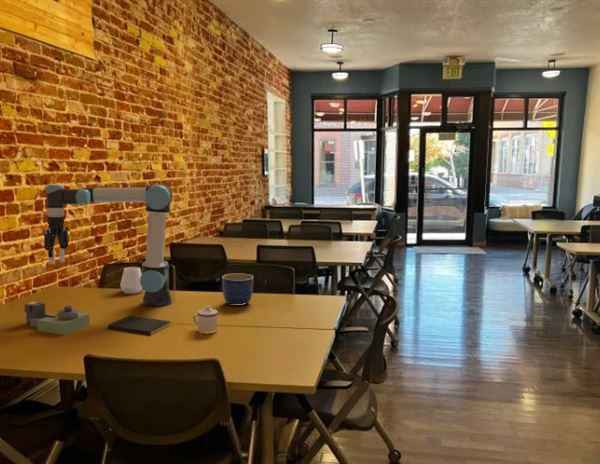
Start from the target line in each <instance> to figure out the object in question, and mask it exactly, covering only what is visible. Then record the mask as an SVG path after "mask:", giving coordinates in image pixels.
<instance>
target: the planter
mask: <svg viewBox="0 0 600 464" xmlns="http://www.w3.org/2000/svg"><path fill="white" fill-rule="evenodd" d="M221 279H222V280H221V281H222V294H223V295H222V296H223V299H224V301H225V302H226V303H227V304H228V303H229V304H243V303H247V302H248V303H250V301H251V300H252V297H253V290H254V289H253V288H254V275H252V274H248V273H247V274H246V273H228V274H224V275H222V277H221ZM248 303H247V304H248ZM229 304H228V305H229Z"/></svg>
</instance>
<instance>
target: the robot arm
mask: <svg viewBox="0 0 600 464" xmlns="http://www.w3.org/2000/svg"><path fill="white" fill-rule="evenodd" d="M45 188H46V193H45V197H46V216H47V217H46V221H47V223H46V224H47V225H48V227H47V229H44V230H43V231H42V232H43V234H44V236H43V237H44V238H43V239H44V240H43V241H44V242H43V243H44V244H43V245H44V247H43V248H44V250H45V251H48V252H47V253H48V255H47V256H48V262H49V265H55V264H56V254H55V253H56V252H55V250H54V248H55V241H56V238H57V240H58V244H59V249H58V257H59V258H58V259H59V261H58V262H63V263H64V262H66V256H65V255H66V249H67V248H68V247H69V235H68V234H69V227H68V226H64V225H65V216H64V215H65V205H78V206H79V205H80V206H82V205H83V206H84V205H89V204H90V203H145V212H146V213H147V214H148V217H147V218H148V220H147V232H146V233H147V234H146V235H147V236H146V237H147V238H146V249H145V250H146V251H145V261H144V262H143V263H141V264H142V266H141V274H142V275H141V277H140V284H141V286H142V288H143V289H142V290H144V291H145V292H144V295H143V298H142V304H143V305H144V306H147V307H165V306H168V305H170V304H171V303H172V302H173V297H172V295H171V292H170V289H169V267H170V266H169V262H168V261H167V260H164V255H165V239H166V225H167V223H166V222H167V215H168V214H169V213H170V209H171V202H172V200H173V196H174V194H173V191H172V189H171V187H170V186H168V185H167V184H164V183H163V184H162V183H159V184H153V185H146V186H145V187H81V188H70V189H68V188H65V187H64V185H63V184H47V185H46V187H45ZM164 305H165V306H164Z"/></svg>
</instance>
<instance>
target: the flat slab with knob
mask: <svg viewBox="0 0 600 464" xmlns="http://www.w3.org/2000/svg"><path fill="white" fill-rule="evenodd" d="M29 325H30V327H31V328H32V327H34V328H37V332H40V333H48V334H54V335H60V336H65V335H67V334H70V333H72V332H75V331H76V330H80V329H82V328H83V327H87V326H89V325H90V313H85V312H79V310H78V309H76V308H72V305H65V306H64V307H63V309H61V310H58V311H57V312H56V315H55V314H51V313H45V318H42V319H34V318H31V319H30V324H29Z"/></svg>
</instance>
